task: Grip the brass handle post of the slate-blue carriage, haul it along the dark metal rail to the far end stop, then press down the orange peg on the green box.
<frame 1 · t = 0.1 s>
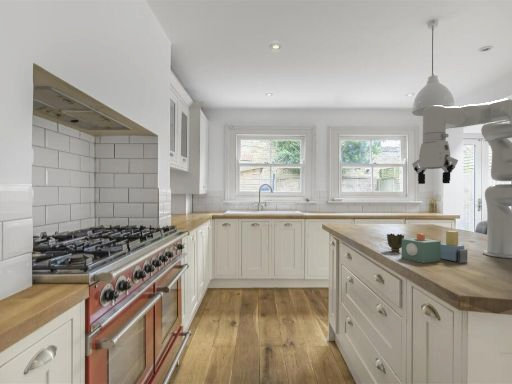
hand: (433, 183, 114), 31 cm above the countertop, tool pointing down, fingers open, 9 cm apart
rail: (440, 257, 127), on the countertop
green box: (420, 259, 123), on the countertop
orange peg: (420, 243, 123), point 7 cm above the countertop, slide at 0.0 cm
cup: (395, 251, 139), on the countertop
carriage: (452, 245, 122), point 6 cm above the countertop, slide at 4.8 cm
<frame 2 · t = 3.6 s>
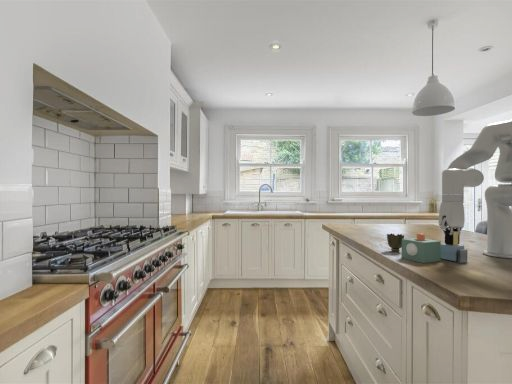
hand: (452, 243, 122), 7 cm above the countertop, tool pointing down, fingers closed on carriage, 3 cm apart
carriage: (452, 245, 122), point 6 cm above the countertop, slide at 4.8 cm, touching gripper
everything else where it was.
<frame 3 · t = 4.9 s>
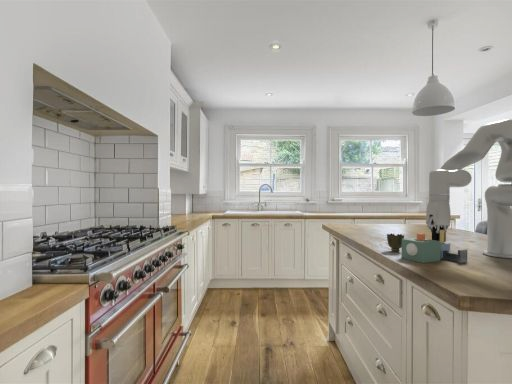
hand: (438, 241, 127), 7 cm above the countertop, tool pointing down, fingers closed on carriage, 3 cm apart
carriage: (438, 243, 127), point 6 cm above the countertop, slide at -0.9 cm, touching gripper
everything else where it was.
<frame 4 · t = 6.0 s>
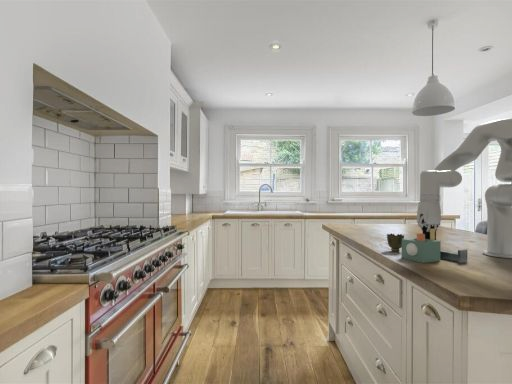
hand: (429, 239, 131), 7 cm above the countertop, tool pointing down, fingers closed on carriage, 3 cm apart
carriage: (429, 241, 131), point 6 cm above the countertop, slide at -5.2 cm, touching gripper
everything else where it was.
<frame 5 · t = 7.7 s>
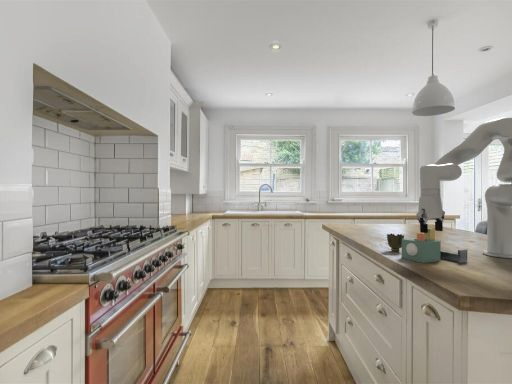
hand: (431, 231, 131), 10 cm above the countertop, tool pointing down, fingers open, 9 cm apart
carriage: (429, 241, 131), point 6 cm above the countertop, slide at -5.2 cm
everything else where it was.
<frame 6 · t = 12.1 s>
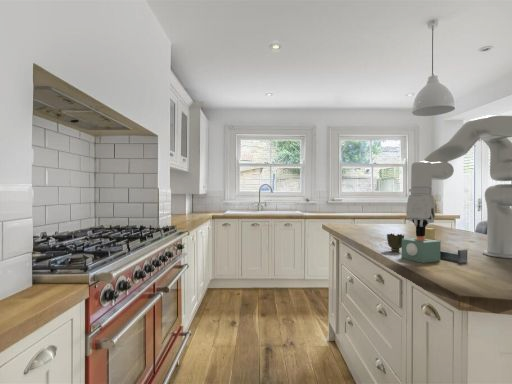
hand: (420, 236, 123), 10 cm above the countertop, tool pointing down, fingers closed
orange peg: (420, 245, 123), point 6 cm above the countertop, slide at 0.9 cm, touching gripper
everything else where it was.
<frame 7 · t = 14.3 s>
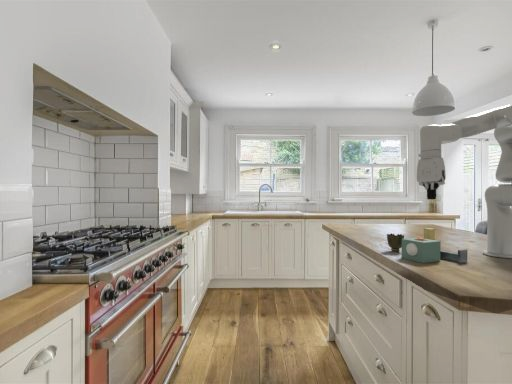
hand: (431, 199, 124), 25 cm above the countertop, tool pointing down, fingers closed
orange peg: (420, 247, 123), point 5 cm above the countertop, slide at 1.9 cm
everything else where it was.
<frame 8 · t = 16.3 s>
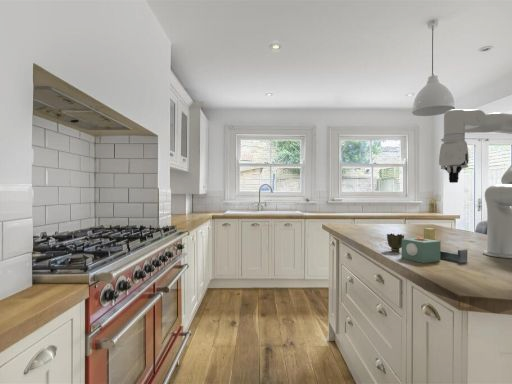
hand: (453, 182, 127), 32 cm above the countertop, tool pointing down, fingers closed
nothing on the countertop moved.
at the end: carriage slide at -5.2 cm; orange peg slide at 1.9 cm; the gripper is holding nothing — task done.
